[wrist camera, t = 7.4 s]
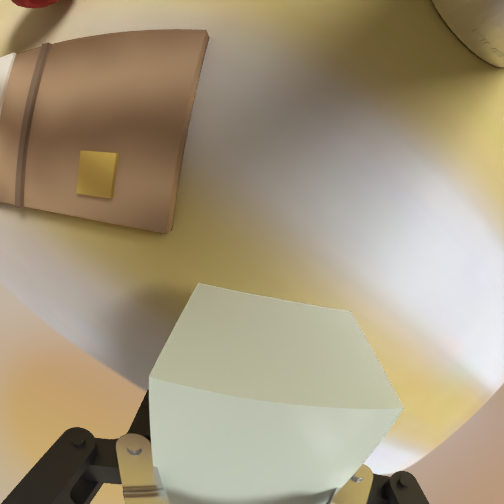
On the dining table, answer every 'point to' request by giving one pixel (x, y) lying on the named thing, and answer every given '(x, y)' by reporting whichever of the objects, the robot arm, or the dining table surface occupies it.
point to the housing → (264, 401)
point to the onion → (34, 3)
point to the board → (100, 125)
